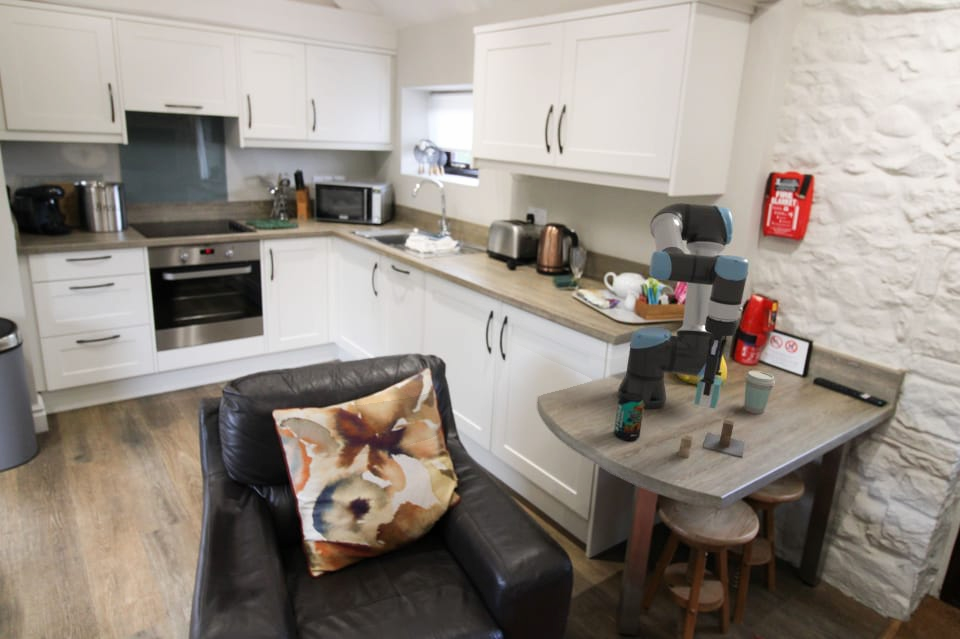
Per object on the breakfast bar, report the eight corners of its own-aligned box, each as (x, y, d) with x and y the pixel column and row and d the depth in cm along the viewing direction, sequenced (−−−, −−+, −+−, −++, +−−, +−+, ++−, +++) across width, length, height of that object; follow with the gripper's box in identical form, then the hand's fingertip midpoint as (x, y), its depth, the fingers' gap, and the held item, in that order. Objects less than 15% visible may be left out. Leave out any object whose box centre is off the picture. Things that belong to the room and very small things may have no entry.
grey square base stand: (703, 447, 171) (707, 424, 169) (707, 433, 180) (711, 411, 178) (742, 457, 167) (747, 434, 165) (744, 442, 176) (749, 420, 174)
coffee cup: (771, 417, 194) (779, 381, 191) (742, 413, 195) (749, 377, 192) (764, 406, 202) (772, 371, 199) (737, 402, 204) (744, 368, 200)
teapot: (695, 363, 238) (701, 329, 234) (740, 378, 226) (747, 342, 222) (659, 377, 222) (665, 340, 218) (706, 393, 209) (713, 355, 205)
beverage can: (639, 443, 171) (646, 403, 167) (613, 440, 172) (619, 399, 168) (638, 432, 177) (644, 393, 174) (613, 428, 178) (618, 390, 175)
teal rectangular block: (694, 403, 164) (698, 380, 162) (697, 397, 168) (702, 374, 166) (715, 408, 162) (719, 385, 160) (717, 402, 166) (722, 378, 164)
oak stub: (678, 455, 166) (681, 438, 164) (679, 451, 168) (682, 434, 167) (688, 457, 165) (691, 440, 163) (689, 453, 167) (692, 436, 166)
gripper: (733, 329, 149) (716, 417, 155) (742, 312, 164) (726, 393, 171) (700, 322, 152) (685, 410, 159) (712, 307, 167) (697, 387, 174)
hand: (706, 401), depth 165 cm, fingers closed on teal rectangular block, 5 cm apart
